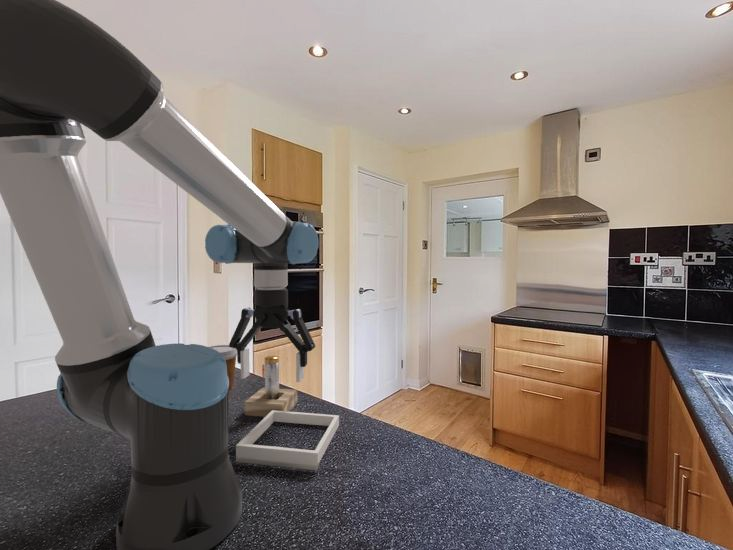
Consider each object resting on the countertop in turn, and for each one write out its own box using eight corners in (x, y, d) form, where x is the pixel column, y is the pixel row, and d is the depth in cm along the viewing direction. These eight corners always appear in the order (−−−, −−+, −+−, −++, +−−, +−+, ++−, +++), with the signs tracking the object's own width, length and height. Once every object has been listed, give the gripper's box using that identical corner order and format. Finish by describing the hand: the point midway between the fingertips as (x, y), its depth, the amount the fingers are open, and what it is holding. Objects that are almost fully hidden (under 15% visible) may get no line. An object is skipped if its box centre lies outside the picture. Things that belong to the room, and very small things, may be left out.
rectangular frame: (317, 470, 61) (317, 453, 61) (236, 461, 63) (235, 445, 63) (339, 429, 75) (339, 415, 75) (272, 423, 78) (272, 410, 78)
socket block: (282, 422, 79) (282, 404, 78) (244, 419, 80) (244, 401, 80) (297, 405, 87) (297, 389, 87) (262, 403, 89) (262, 387, 89)
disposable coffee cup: (230, 400, 91) (229, 353, 90) (193, 399, 91) (192, 353, 91) (243, 386, 100) (243, 344, 100) (210, 386, 101) (209, 344, 100)
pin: (275, 411, 82) (275, 359, 81) (262, 410, 82) (262, 359, 82) (281, 405, 85) (281, 356, 85) (268, 404, 86) (268, 355, 85)
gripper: (327, 287, 84) (328, 376, 85) (230, 286, 88) (231, 370, 89) (318, 290, 77) (318, 387, 78) (212, 288, 81) (214, 380, 82)
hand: (272, 378), depth 84 cm, fingers open, 13 cm apart
